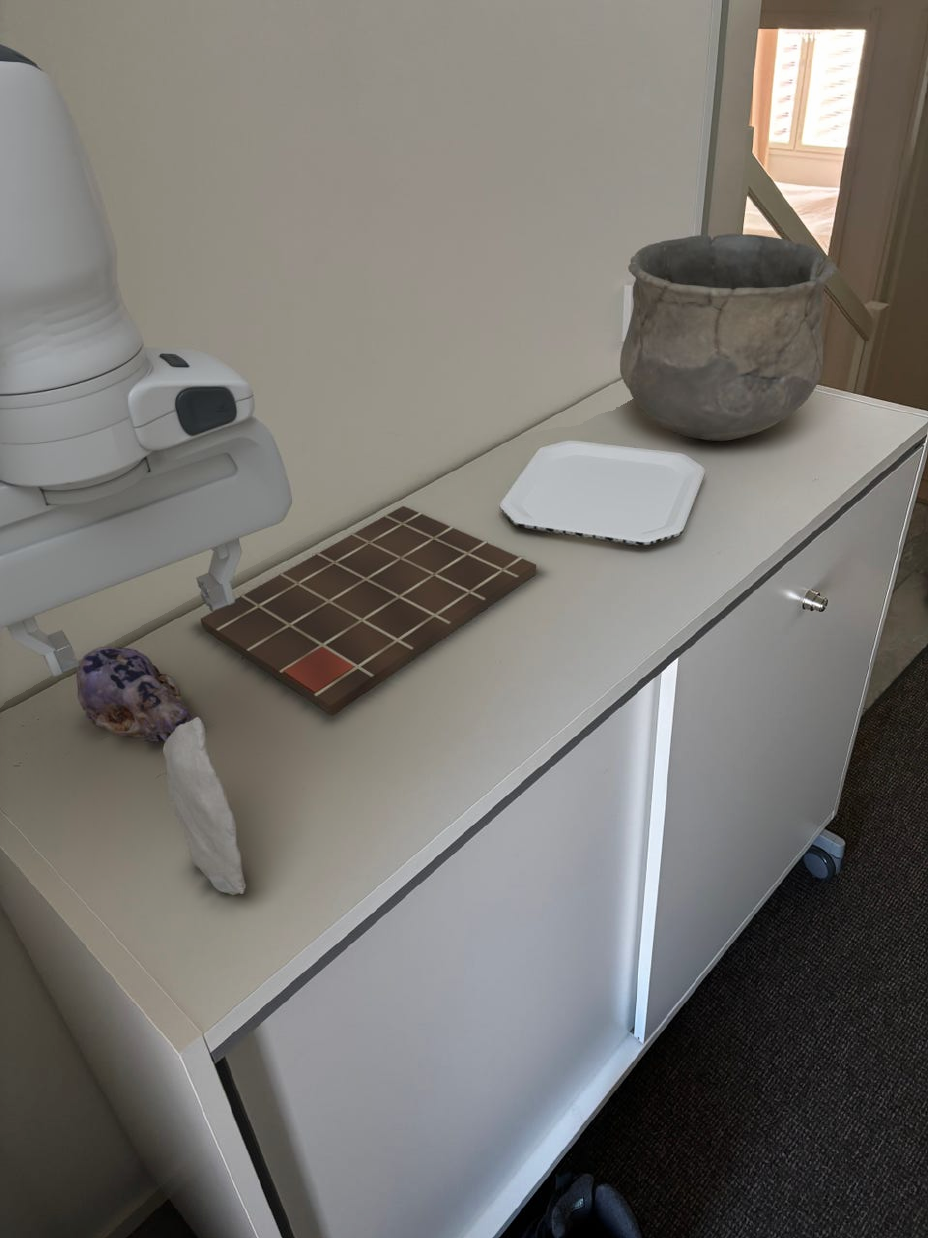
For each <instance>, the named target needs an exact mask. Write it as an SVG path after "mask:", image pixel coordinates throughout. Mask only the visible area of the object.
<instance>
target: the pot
mask: <svg viewBox="0 0 928 1238" xmlns="http://www.w3.org/2000/svg"><path fill="white" fill-rule="evenodd" d="M826 260H827V257H826V256H825V255H824V254H823V253H822V252H821V251H820V250H818V249H817V248H815V247H814V246H811V245H808V244H804V243H800V242H799V243H798V242H794V241H793V240H788V239H783V238H780V237H773V236H767V235H761V234H759V235H758V234H748V233H747V234H745V233H727V234H726V233H725V234H719V235H715V236H714V237H713V238H712V237H711V236H710V235H708V234H699V235H698V234H697V235H692V236H691V235H690V236H687V237H682V238H676V239H667V240H661V241H660V242H655V243H651V244H648V245H646V246H644V247H641V248H640V249H639V250H637V252H636V253H635V254H634V255H633V256H632V257H631V258H630V263H629V264H628V267H627V268H628V271H629V273H631V275H632V276H633V277H634V278H635V280H634V283H633V285H632V301H633V302H632V303H633V307H632V313H631V317H630V320H629V324H628V328H627V331H626V335H625V338H624V341H623V344H622V347H621V351H620V358H619V372H620V376H621V379H622V381H623V383H624V384H625V386H626V388H627V390H629V392H630V395H631V397H632V399H633V401H634V403H636V405H637V406H638V407H639V408H640V409H641V410H642V411H643V412H644V413H646V414H647V415H648V416H649V417H650V418H651V419H652V420H654V422H655V423H656V424H657V425H659V426H661V427H663V428H665V429H667V430H669V431H672V432H674V433H676V434H679V435H682V436H684V437H687V438H688V437H689V438H694V439H699V440H704V441H712V442H724V441H731V440H732V441H734V440H738V439H741V438H744V437H748V436H751V435H754V434H757V433H760V432H763V431H765V430H767V429H769V428H771V427H773V426H775V425H776V424H777V423H779V422H781V421H783V420H785V419H786V418H788V417H790V415H792V414H794V413H795V412H796V411H797V410H798V409H800V408H801V407H802V406H803V405H804V404H805V403H806V402H807V400H808V399H809V398H810V396H811V395H812V394H813V392H814V391H815V389H816V387H817V385H818V383H819V382H820V380H821V378H822V373H823V368H824V367H823V366H824V341H823V326H822V325H823V315H824V310H825V309H824V308H825V306H824V305H825V304H824V295H825V288H826V287H825V286H826V284H827V283H829V281H830V280H831V279H832V278H833V277H835V275H836V274H837V272H838V267H837V266H836V264H835V263H834V262H833V261H832V262H831V261H828V262H825V261H826ZM824 262H825V263H824ZM823 263H824V265H823V266H822V267H821V265H822V264H823ZM820 268H821V269H820Z"/></svg>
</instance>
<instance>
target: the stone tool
mask: <svg viewBox="0 0 928 1238" xmlns="http://www.w3.org/2000/svg"><path fill="white" fill-rule="evenodd" d="M205 728H206V727H205V725H204V722H203V721H202V719H201V718H200V717H199V716H196V717H193V719H192V720H191V721H189V722H186V723H184V724H181V725H179V726H177V727H176V728H175V731H174V732H173V733H172V734H170V735H169V736H168V739H167V741H166V742H165V741H164V744H163V747H162V753H163V755H164V759H165V762H166V774H167V775H166V777H167V780H166V781H167V783H166V787H167V792H168V793H167V794H168V795H169V797H170V799H171V800H172V802H173V813H174V816H175V817H176V818H177V821H178V823H179V826H180V828H181V830H182V833H183V835H184V838H185V840H186V842H187V846H188V848H189V853H190V858H191V860H192V863H193V864H194V865H195V866H196V867H197V868H198V869H199V870H200V871H201V872H202V874H203V875H205V877H207V879H208V880H209V881H210V882H211V884H212V886H213V887H214V888H215V889H216V890H218V891H219V892H221V893H226V894H229V895H231V896H233V897H234V896H235V895H237V894H240V895H243V894H244V893H245V890H246V888H247V884H246V882H245V877H244V873H243V868H242V856H241V855H242V854H241V851H240V849H239V846H238V843H237V825H236V821H235V820H236V819H235V816H234V814H233V812H232V810H231V808H230V805H229V799H228V795H227V793H226V791H225V789H224V786H223V783H222V781H221V778H220V776H219V775H218V774H217V772H216V770H215V767H214V766H213V764H212V761H211V758H210V755H209V752H208V751H209V750H208V743H207V733H206V732H207V731H206V729H205Z"/></svg>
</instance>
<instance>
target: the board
mask: <svg viewBox="0 0 928 1238" xmlns="http://www.w3.org/2000/svg"><path fill="white" fill-rule="evenodd" d="M536 575H537V564H536V563H534V562H532V561H529V560H527V559H524V558H523V557H522V556H518V555H516V554H513V553H511V552H508V551H507V550H504V549H501V548H499V547H497V546H496V545H493V544H491V543H489V542H488V541H486V540H484V541H483V540H481V539H479V538H478V537H475V536H472V535H471V534H468V533H465V532H464V531H461V530H459V529H458V528H455V527H454V526H449V525H448V524H445V523H443V522H441V521H438V520H437V519H435V518H432V517H430V516H427V515H425V514H424V513H422V512H418V511H416V510H414V509H412V508H409V507H407V506H405V505H402V506H400V507H398V508H396V509H395V510H393V511H392V512H389V513H388V514H384V515H383V516H382V517H380V518H379V519H377V520H375V521H373V522H371V523H370V524H368V525H366V526H364V527H362V528H361V529H359V530H357V531H355V532H354V533H350V535H348V536H347V537H345V538H343V539H341V540H339V541H337V542H336V543H334V544H331V545H330V546H328V547H327V548H324V549H323V550H321V551H319V552H316V553H315V554H313V556H311V557H309V558H307V559H305V560H304V561H301V562H300V563H298V564H296V565H295V566H292V567H291V568H289V569H287V570H286V571H284V572H280V573H278V575H276V576H275V577H273V578H271V579H269V580H268V581H266V582H264V583H261V584H260V585H259V586H257V587H255V588H254V589H251V590H249V591H248V592H246V593H244V594H240V595H239V596H238V597H237V598H235V603H233V604H231V605H228V606H225V607H223V608H220V609H218V610H215V611H213V612H212V611H211V612H210V613H209V614H207V615H204V616H203V617H201V618H200V623H201V626H202V629H203V630H205V631H206V632H208V633H209V634H211V635H212V636H214V638H217V640H219V641H221V642H222V643H224V644H226V645H227V646H229V647H230V648H231V649H233V650H234V651H236V652H237V653H239V654H240V655H242V656H243V657H245V658H246V659H248V660H249V661H250V662H252V663H254V664H255V665H256V666H258V667H260V668H261V669H263V670H264V671H265V672H267V673H268V674H270V675H271V676H272V677H274V678H276V679H277V680H278V681H280V682H281V683H283V684H284V685H286V686H288V687H289V688H291V689H292V690H294V692H297V693H298V695H301V696H303V697H304V698H305V699H307V700H308V701H309V702H311V703H313V704H314V705H316V706H317V707H318V708H320V709H321V710H323V711H324V712H326V713H327V714H329V715H331V716H333V715H335V714H336V713H338V712H339V711H341V710H342V709H343V708H345V707H346V706H348V705H349V704H351V703H352V702H354V701H355V700H357V699H358V698H360V697H361V696H363V694H365V693H366V692H368V691H369V690H371V689H373V688H374V687H375V686H376V685H378V684H379V683H381V682H383V681H384V680H385V679H387V678H388V677H389V676H391V675H393V674H394V673H396V672H397V671H398V670H400V669H401V668H403V667H404V666H406V665H407V664H408V663H410V662H412V661H413V660H414V659H416V658H417V657H418V656H420V655H421V654H423V653H425V652H426V651H427V650H429V649H430V648H432V647H433V646H435V645H436V644H438V643H439V642H441V641H442V640H443V639H444V638H446V637H448V636H449V635H450V634H452V633H454V632H455V631H456V630H458V629H459V628H460V627H462V626H463V625H466V623H468V622H469V621H470V620H472V619H474V618H475V617H477V616H478V615H479V614H480V613H482V612H484V611H485V610H487V609H488V608H489V607H491V606H492V605H493V604H495V603H497V601H500V600H501V599H502V598H503V597H505V596H506V595H508V594H509V593H511V592H512V591H514V590H515V589H517V588H518V587H519V586H521V585H522V584H524V583H526V582H527V581H528V580H530V579H531V578H532V577H534V576H536Z"/></svg>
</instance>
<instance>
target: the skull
mask: <svg viewBox="0 0 928 1238" xmlns="http://www.w3.org/2000/svg"><path fill="white" fill-rule="evenodd" d="M79 666H80V667H77V671H76V673H75V674H76V675H75V676H76V685H77V699H78V703H79V705H80V706H81V708H82V710H83V711H85V717H86V718H87V719H89V720H90V721H91V722H92V724H93V725H94V726H95V727H97V728H104V729H106V731H109V732H110V733H112V734H113V735H115V736H119V737H132V738H139V739H141V741H145V740H147V741H150V742H160V740H159V738H158V735H159V736H160V739H162V740H163V741H164V743H165V742H166V741H167V739H168V738H169V736H168V734H170V735H171V734H172V733H173V732H174V731H175V728H176V727H177V726H179V725H181V724H184V723H186V722H189V721H191V720H192V719H194V717H193V715H192V714H191V712H190V710H189V708H188V707H187V706H186V704H185V703H184V702H183V701H182V699H181V695H182V694H181V690H180V688H179V686H178V685H177V683H176V682H175V681H174V679H172V678H171V676H170V675H169V674H168V673H161V672H160V671H159V669H158V667H157V666H156V665H154V664H153V662H152V661H151V659H150V658H149V657H148V656H147V655H145V654H144V653H143V652H140V651H138V649H135V648H130V647H129V648H128V647H121V646H119V647H114V646H99V647H95V648H94V649H93V650H91V651H89V652H88V653H86V654H84V656H83V657H82V659H81V662H80V663H79ZM164 684H167V686H169V687H170V688H171V690H173V691H170V689H168V688H167V687H166V685H164ZM111 718H112V720H113V719H114V720H115V721H111V720H110V719H111Z"/></svg>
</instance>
